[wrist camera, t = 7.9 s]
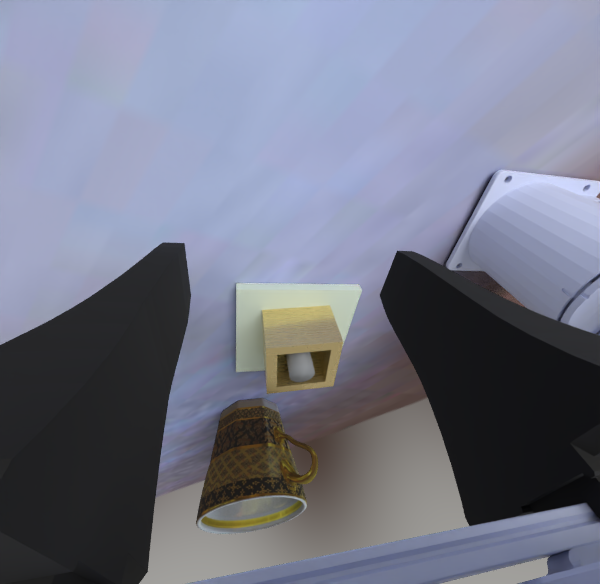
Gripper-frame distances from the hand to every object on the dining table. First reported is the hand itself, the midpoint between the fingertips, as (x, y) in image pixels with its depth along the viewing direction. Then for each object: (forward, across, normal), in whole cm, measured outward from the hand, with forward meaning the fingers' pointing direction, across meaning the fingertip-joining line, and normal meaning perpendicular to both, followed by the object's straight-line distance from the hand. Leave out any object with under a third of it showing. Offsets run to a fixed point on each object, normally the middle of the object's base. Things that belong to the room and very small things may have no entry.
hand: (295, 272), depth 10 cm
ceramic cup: (+10, -1, +26) cm, 28 cm away
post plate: (+10, -3, +13) cm, 17 cm away
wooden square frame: (+9, -3, +12) cm, 16 cm away
